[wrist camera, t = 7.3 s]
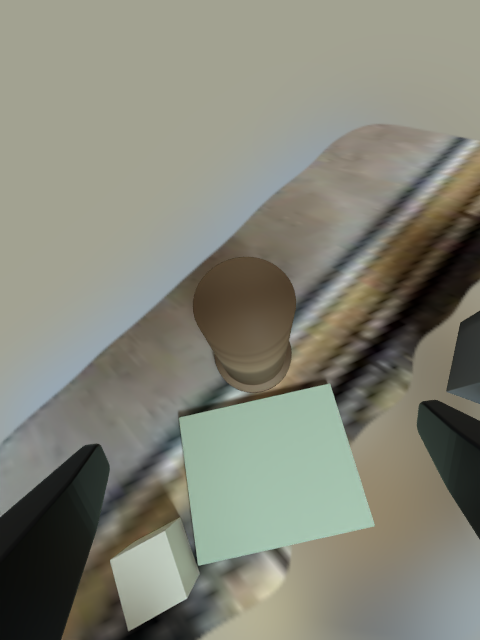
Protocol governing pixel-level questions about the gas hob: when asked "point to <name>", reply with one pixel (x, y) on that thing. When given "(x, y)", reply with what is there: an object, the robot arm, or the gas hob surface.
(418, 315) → the gas hob surface
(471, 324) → the box
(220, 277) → the brown cylinder
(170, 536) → the white cube
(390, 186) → the gas hob surface
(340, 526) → the tile
